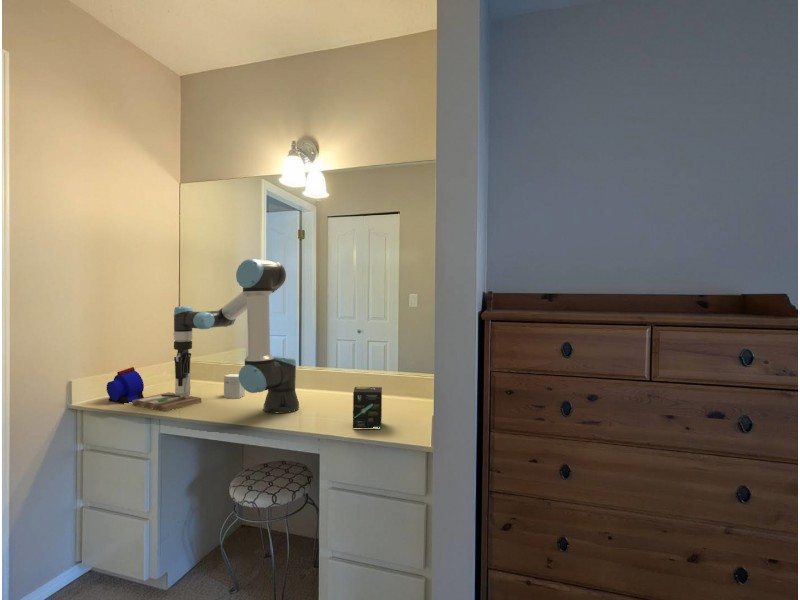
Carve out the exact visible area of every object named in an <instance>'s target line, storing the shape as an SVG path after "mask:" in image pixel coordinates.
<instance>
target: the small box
mask: <svg viewBox="0 0 800 600" xmlns="http://www.w3.org/2000/svg"><path fill="white" fill-rule="evenodd" d="M245 391H246V390H245V389H244V387H242V386H241V384H240V381H239V373H236V374H235V373H229V374H226V375H224V376H223V397H224V398H226V399H240V397H241V398H242V396H243V397H245V396H246V395H245V394H246V393H245Z"/></svg>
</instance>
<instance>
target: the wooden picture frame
mask: <svg viewBox="0 0 800 600" xmlns="http://www.w3.org/2000/svg"><path fill="white" fill-rule="evenodd" d="M162 394H166V395H175V392H169V391H168V392H163V393H159V394H155V395H149V396H147V397H145V396H144V398H141V399H136V400H132V404H134V405H133V406H136V405H139V406H138V407H141V406H144V407H143V408H146V407H148V408H147V409H151V408H153V409H152V410H156V409H159V410H158V411H161V410H164V411H163V412H169V411H168V410H170V411H173V410H172V409H174V410H177V409H181V408H184V406H185V407H188V405H189V406H192V404H193V405H195V404H199V403H202V397H200V396H199V397H198V396H192V395H189V396H186V397H184V398H180V397H164V396H162ZM180 407H181V408H180ZM176 408H177V409H176Z"/></svg>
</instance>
